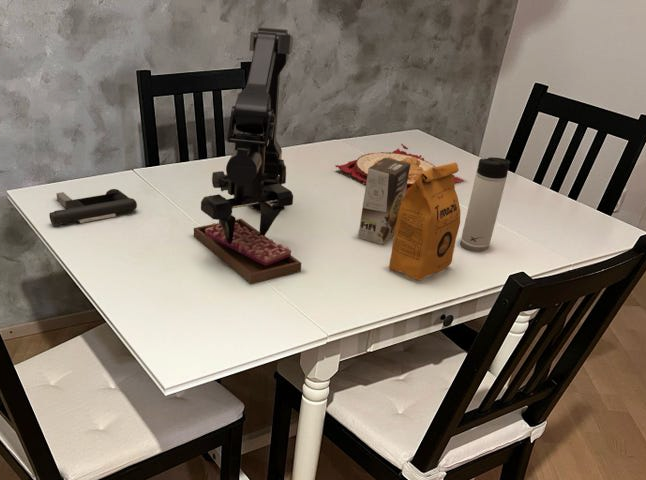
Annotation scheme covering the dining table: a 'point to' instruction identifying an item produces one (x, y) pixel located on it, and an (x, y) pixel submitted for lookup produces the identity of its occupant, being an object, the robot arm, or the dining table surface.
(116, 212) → the door handle
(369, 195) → the coffee box
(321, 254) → the dining table surface
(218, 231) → the pink flat grid slab
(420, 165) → the plate with food
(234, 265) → the tray
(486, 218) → the travel mug
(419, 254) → the coffee package
